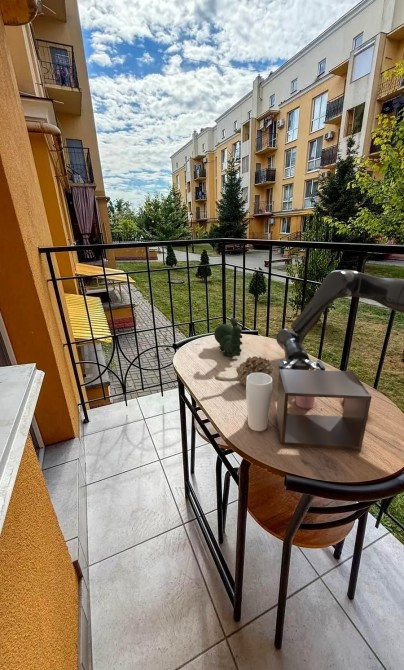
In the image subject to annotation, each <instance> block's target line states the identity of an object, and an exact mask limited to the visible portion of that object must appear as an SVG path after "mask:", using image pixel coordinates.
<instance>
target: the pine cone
mask: <svg viewBox="0 0 404 670" xmlns="http://www.w3.org/2000/svg"><path fill="white" fill-rule="evenodd" d="M272 363H273V362H271V361H270V358H268V359H267V358H266V357H262V356H255V355H253V356H249V357H247V358H246V360H245V361H242V363H240V364H239V366H236V370H235V372H236V374H237V376H236V377H223V376H218V375H213V377H214V379H215V380H216V381H219V382H229V383H230V382H239V383H241V384H242V385H243V386H246V379H247V376H248V375H249V374H252V373H265V374H268V375H269V376H271V374H272V372H273V365H272Z"/></svg>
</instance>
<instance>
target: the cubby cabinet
mask: <svg viewBox="0 0 404 670" xmlns="http://www.w3.org/2000/svg"><path fill="white" fill-rule="evenodd" d="M277 383H278V385H277V400H276V415H275V416H276V422H277V423H276V424H277V428H278V433H279V434H278V435H279V440H280V445H281V446H289V447H302V448H303V447H304V448H320V449H332V450H333V449H334V450H345V451H361V452H362V449H363V448H362V447H363V444H364V443H363V442H364V438H365V432H366V428H367V421H368V419H369V412H370V407H371V402H372V398H373V397H372V396H373V395H372V394H370V392H369V391H368V390H367V388H366V387H365V385H364V384H363V383H362V382H361V380H360V379H359V378H358V376H357V375H356V374H355V372H353V370H351V371H350V370H325V371H322V370H316V369H314V370H310V369H309V370H289V369H279V368H278V382H277ZM296 396H305V397H315V398H329V399H331V398H332V399H343V398H345V403H344V402H343V403H344V404H343V410H342V416H339V415H338V416H337V415H336V416H335V415H321V414H320V415H319V414H302V413H301V414H299V413H288V405H289V397H296ZM367 418H368V419H367Z"/></svg>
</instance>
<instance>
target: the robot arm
mask: <svg viewBox="0 0 404 670" xmlns="http://www.w3.org/2000/svg"><path fill="white" fill-rule="evenodd" d="M342 298H343V299H344V298H361V299H367V300H371V301H373V302H376V303H378V304H380V305H381V306H383V307H385V308H387V309H390V310H392V311H395V312H398V313H402V314H404V278H396V277H395V278H394V277H382V276H381V277H380V276H374V275H371V274H367V273H362V272H359V271H357V270H352V269H337V270H333V271H331V272H329V273H328V274H327V275H326V276H325V277H324V278H323V280H322V281H321V284H320V285H319V287H318V289H317V290H316V292H315V293H314V294H313V296H312V298H311V300H310V301H309V302H308V304H307V305H306V306H305V308H304V309H303V310H302V311H301V313H299V315H298V316H297V317H296V318H295V319H294V321H293V322H292V323H291V325H290V326H291V329H288V328H281V329H279V331H277V333H276V337H275V338H276V339H275V341H276V343H277V345H278V346H279V347H280V348H281V349H282V350H283V352H284V359H285V361H284V360H283V359H282V358H279V359H278V370H279V369H289V370H322V371H326V366H325V364H323V362H322V361H321V360H319V359H318V360H316V362H315V361H312V360H311V359H310V356H309V355H308V352H307V350H306V348H305V346H303V342H304V340H305V338H306V337H307V335H308V333H310V332H311V331H312V330H313V328H315V327H316V325H317V324H318V323H319V322H320V320H321V317H322V315H323V313H324V311H325V310H326V309H327V308H328V307H329V305H331V304H333V302H335V301H336V300H337V299H342Z"/></svg>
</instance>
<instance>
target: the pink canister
mask: <svg viewBox="0 0 404 670" xmlns="http://www.w3.org/2000/svg"><path fill="white" fill-rule="evenodd" d="M315 398H316V397H305V396H295V404H296V406H298V407H299V408H302V409H312V408H313V407H314V406H315Z"/></svg>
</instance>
